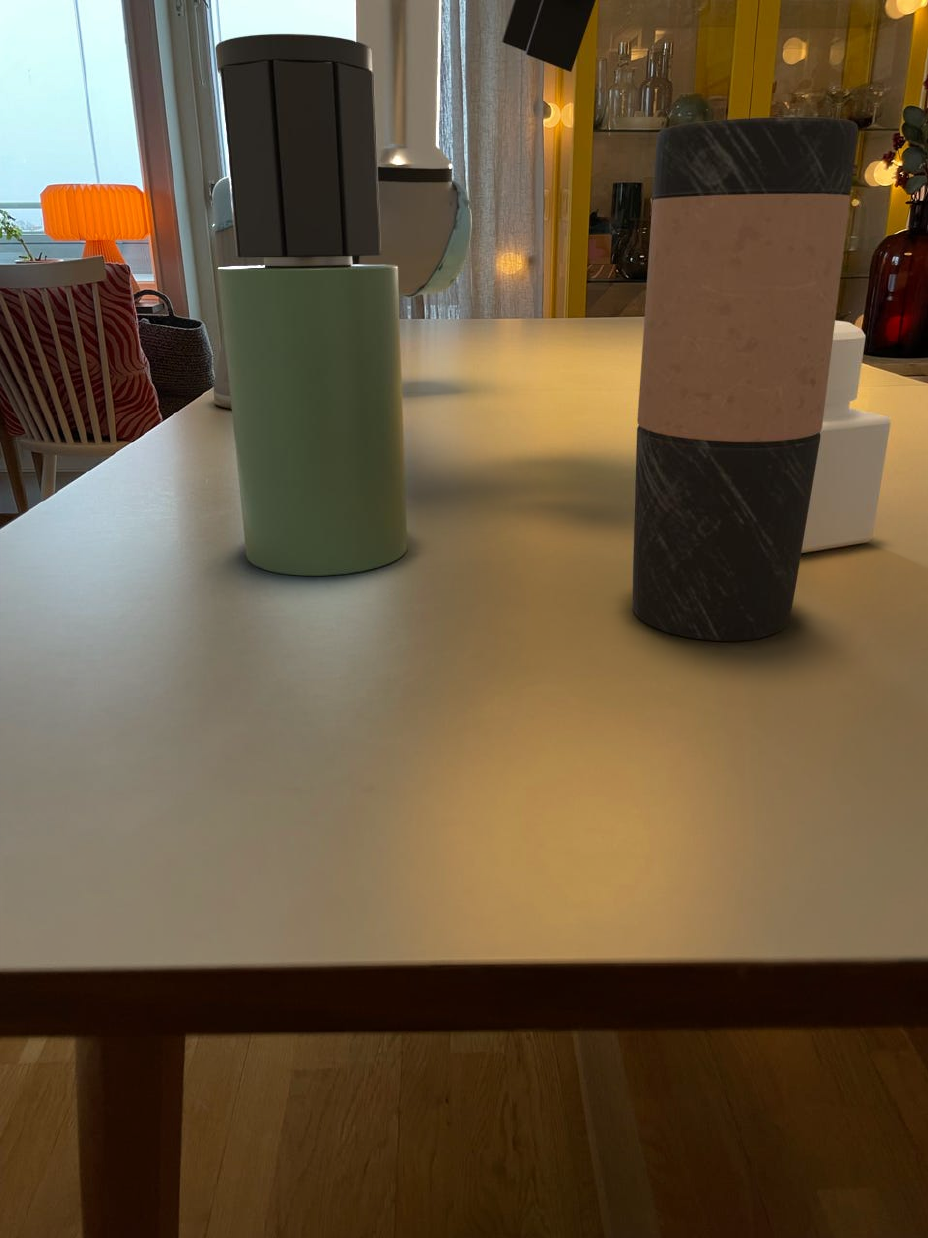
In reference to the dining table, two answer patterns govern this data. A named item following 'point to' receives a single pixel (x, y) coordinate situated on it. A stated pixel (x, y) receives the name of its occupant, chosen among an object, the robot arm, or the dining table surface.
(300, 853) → the dining table surface
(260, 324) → the flask
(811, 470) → the travel mug
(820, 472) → the medicine bottle
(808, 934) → the dining table surface
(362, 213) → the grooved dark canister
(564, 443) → the dining table surface
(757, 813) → the dining table surface
